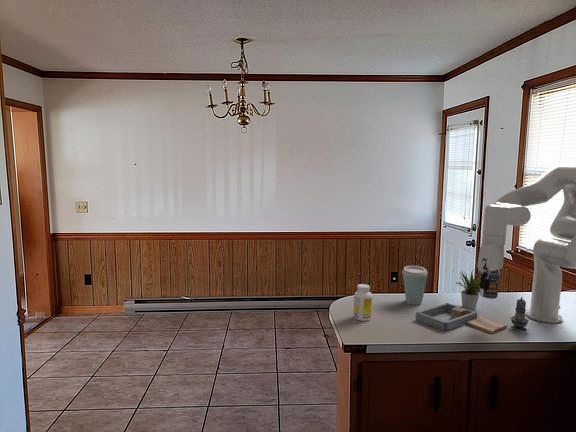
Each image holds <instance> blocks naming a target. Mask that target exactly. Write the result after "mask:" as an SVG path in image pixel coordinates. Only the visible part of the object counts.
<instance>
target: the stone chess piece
mask: <svg viewBox="0 0 576 432" xmlns="http://www.w3.org/2000/svg"><path fill="white" fill-rule="evenodd" d="M526 303H527V302H526V300H525V299H524V298H523V296H521V298H520V299H517V300H516V307H514V309H515V314H514V316H510V320H511V324H512V325H511V326H510V329H511V330H513V331H515V332H516V331H517V332H521V331H525V332H527V331H528V329H527V328H526V326H527V325H528V323H529V322H530V321H529V319H527V318H526V314H525V312H526V311H527V309H526V306H527V304H526Z"/></svg>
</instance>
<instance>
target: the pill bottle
mask: <svg viewBox="0 0 576 432" xmlns="http://www.w3.org/2000/svg"><path fill="white" fill-rule="evenodd" d="M485 270H487V268H485ZM484 272H485V271H484ZM485 273H486V275H487V272H485ZM499 277H500V276H499V274H498V273H497V270H494V271H491V273H490V276H489V279H490V284H489V290H485V289H481V288H479V289H480V291H479V297H482V298H485V299H489V300H490V299H491V300H495V299H498V296H499V295H498V294H499V292H498V291H499V287H498V286H500V278H499Z"/></svg>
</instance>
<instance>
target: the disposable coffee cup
mask: <svg viewBox="0 0 576 432" xmlns="http://www.w3.org/2000/svg"><path fill="white" fill-rule="evenodd" d="M401 274H402V277H403V278H402V279H403V285H404V286H403V287H404V296H405V301H406V303H408V304H410V305H414V306H415V305H416V306H419V305H421V304H422V302H423V298H424V294H425V290H426V289H425V287H426V284H427V280H428V279H427V278H428V274H429V272H428V271H427V269H426V268H425V267H422V266H419V265H406V266H404V267H403V269H402V271H401Z"/></svg>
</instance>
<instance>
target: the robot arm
mask: <svg viewBox="0 0 576 432" xmlns="http://www.w3.org/2000/svg"><path fill="white" fill-rule="evenodd" d="M561 191H562V192H563V204H562V205H561V207H560V210H559V211H558V213H557V215H556V216H555V217H554V219H553V221H552V224H551V225H550V229H549V232H550V234H551V235H552V236H553V237H555V238H552V237H542V238H539V239H537V240H536V241H535V243H534V245H533V246H532V247H533V248H532V253H533V259H534V261H533V262H534V263H533V265H534V268H533V279H532V289H531V299H530V308H529V309H526V311H525V317H527V318H529V319H531V320H533V321H537V322H540V321H542V322H541V323H546V322H547V323H548V324H559V322H560V323H562V322H563V317H562V316H561V315H560V314H559V312H560V311H559V310H560V309H561V306H560V301H561V293H562V291H561V290H562V283H563V272H562V269H561V267H562V268H567V269H576V164H572V165H571V164H557V165H554V166H552V167H550V168H548V170H547V171H545V172H544V173H543V174H541V175H540V176H539V177H538V178H536V179H535V180H534V181H533V182H531V183H530V184H528V185H525V186H522V187H519V188H516V189H514V190H512V191H508V192H507V193H505V194H504V195H502V196H500V197H499V198H498V199H496V201H494V202H493V204H487V205H486V206H485V208H484V215H483V217H484V218H483V224H482V226H483V227H482V237H481V245H480V248H479V252H478V259H477V271H478V274H479V275H480V279H479V283H480V288H481V289H485V290H489V284H490V279H489V276H490V273H491V271H494V270H497V273H498V274H499V279H500V277H501V272H502V269H503V267H504V261H505V260H504V259H505V245H506V238H507V237H506V236H507V228H508V227H507V226H514V227H515V226H516V227H520V226H524V225H526V224H528V223H529V221H530V219H531V216H532V215H531V214H532V213H531V211H530V209H528V207H527V206H535V205H541V204H544V203H547V202H549V201H550V200H551V199H552V198H553V197H554V196H556V195H557V194H558V193H559V192H561ZM485 268H487V270H485ZM484 271H485V272H487V275H486V273H485V272H484ZM499 286H500V285H499ZM499 286H498V288H499ZM480 288H479V289H480Z"/></svg>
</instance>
